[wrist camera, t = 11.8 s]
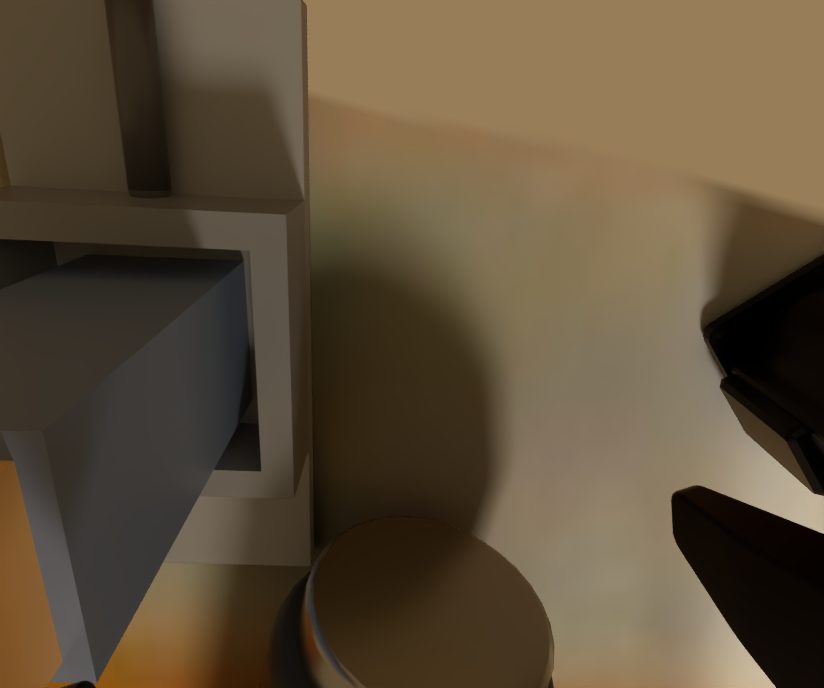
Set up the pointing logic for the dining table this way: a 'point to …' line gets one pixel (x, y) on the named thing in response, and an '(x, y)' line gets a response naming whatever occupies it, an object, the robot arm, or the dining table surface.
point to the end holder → (180, 206)
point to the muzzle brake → (410, 615)
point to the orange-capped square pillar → (106, 443)
